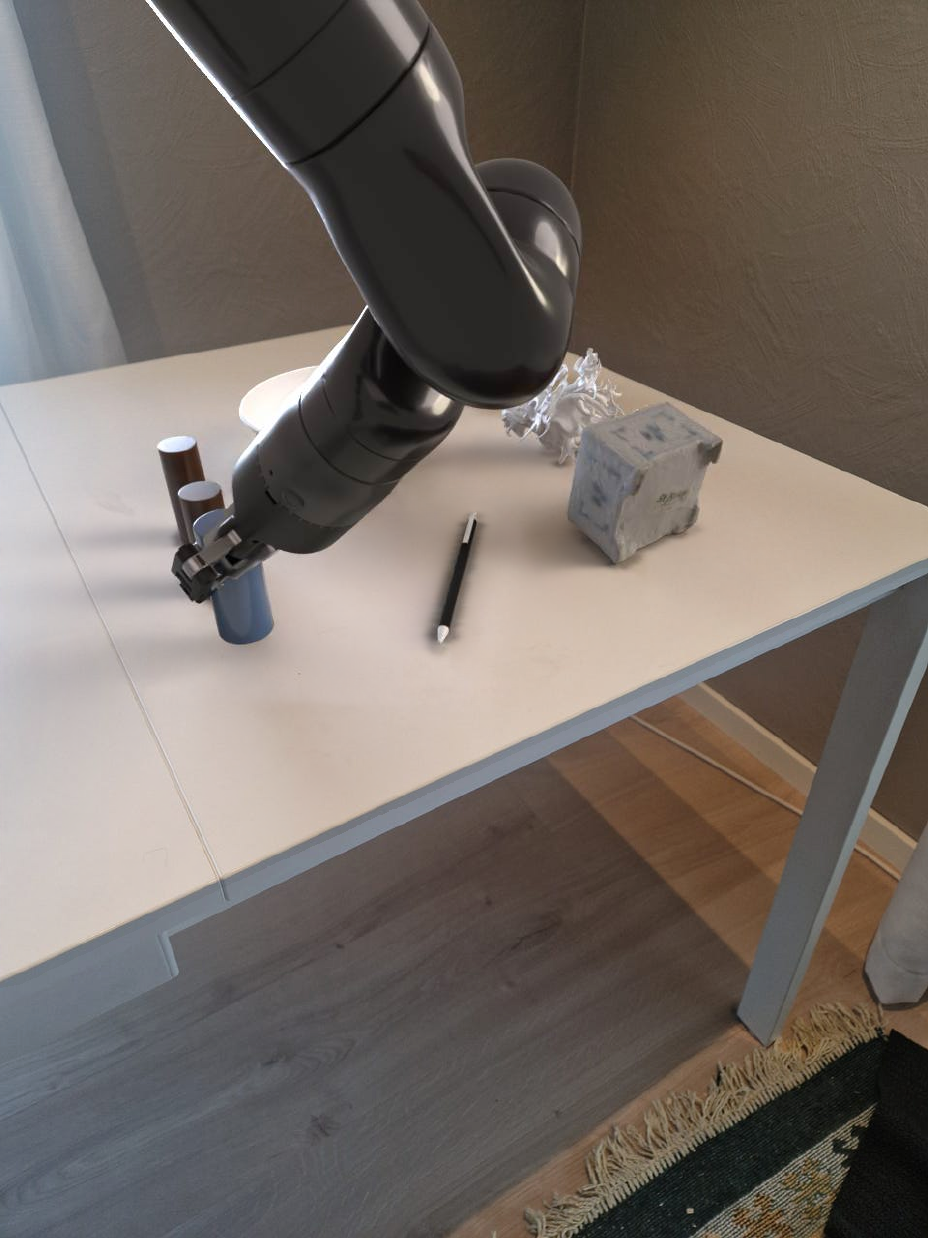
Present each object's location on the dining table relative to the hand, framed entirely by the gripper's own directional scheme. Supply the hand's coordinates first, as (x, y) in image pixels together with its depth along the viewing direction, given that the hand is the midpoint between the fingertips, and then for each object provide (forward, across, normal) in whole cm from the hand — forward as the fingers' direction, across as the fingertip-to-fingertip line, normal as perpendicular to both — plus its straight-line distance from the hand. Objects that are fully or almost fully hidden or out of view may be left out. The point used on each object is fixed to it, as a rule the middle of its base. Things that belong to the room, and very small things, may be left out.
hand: (217, 574), depth 62 cm
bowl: (+13, -28, -4) cm, 31 cm away
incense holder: (-9, -30, +18) cm, 36 cm away
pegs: (+11, -7, -3) cm, 13 cm away
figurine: (0, -42, +10) cm, 43 cm away
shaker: (+1, 0, +4) cm, 5 cm away
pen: (-2, -16, +11) cm, 20 cm away
